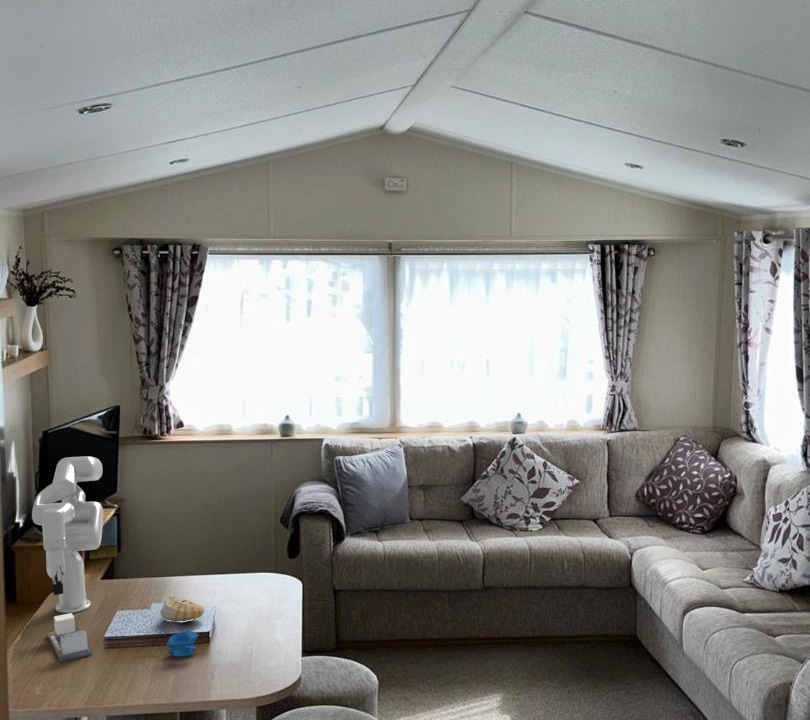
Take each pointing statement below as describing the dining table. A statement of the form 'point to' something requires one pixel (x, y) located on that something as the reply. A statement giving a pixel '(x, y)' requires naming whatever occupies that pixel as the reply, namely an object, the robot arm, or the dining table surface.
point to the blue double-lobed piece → (182, 643)
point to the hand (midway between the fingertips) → (58, 593)
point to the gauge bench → (71, 656)
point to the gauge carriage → (64, 624)
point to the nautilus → (181, 610)
